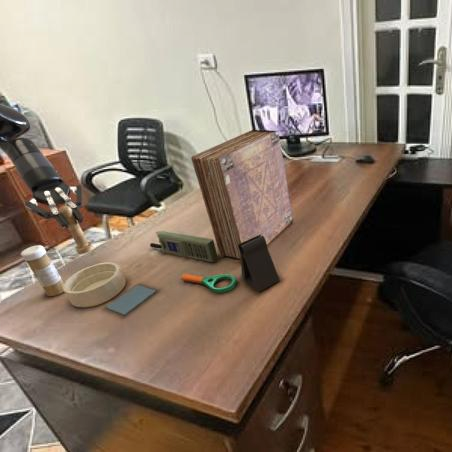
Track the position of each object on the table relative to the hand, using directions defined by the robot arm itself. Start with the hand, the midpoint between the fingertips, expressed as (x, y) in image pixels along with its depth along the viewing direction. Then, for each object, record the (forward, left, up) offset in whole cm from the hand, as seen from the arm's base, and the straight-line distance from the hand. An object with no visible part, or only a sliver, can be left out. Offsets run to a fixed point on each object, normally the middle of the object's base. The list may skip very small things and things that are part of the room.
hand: (74, 224), depth 93 cm
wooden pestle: (0, +2, -9) cm, 9 cm away
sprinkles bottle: (-11, +1, -15) cm, 19 cm away
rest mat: (-6, -23, -15) cm, 28 cm away
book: (+29, -36, -15) cm, 49 cm away
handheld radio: (+14, -19, -15) cm, 28 cm away
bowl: (-7, -11, -15) cm, 20 cm away
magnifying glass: (+6, -37, -15) cm, 41 cm away
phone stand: (+12, -49, -15) cm, 53 cm away
